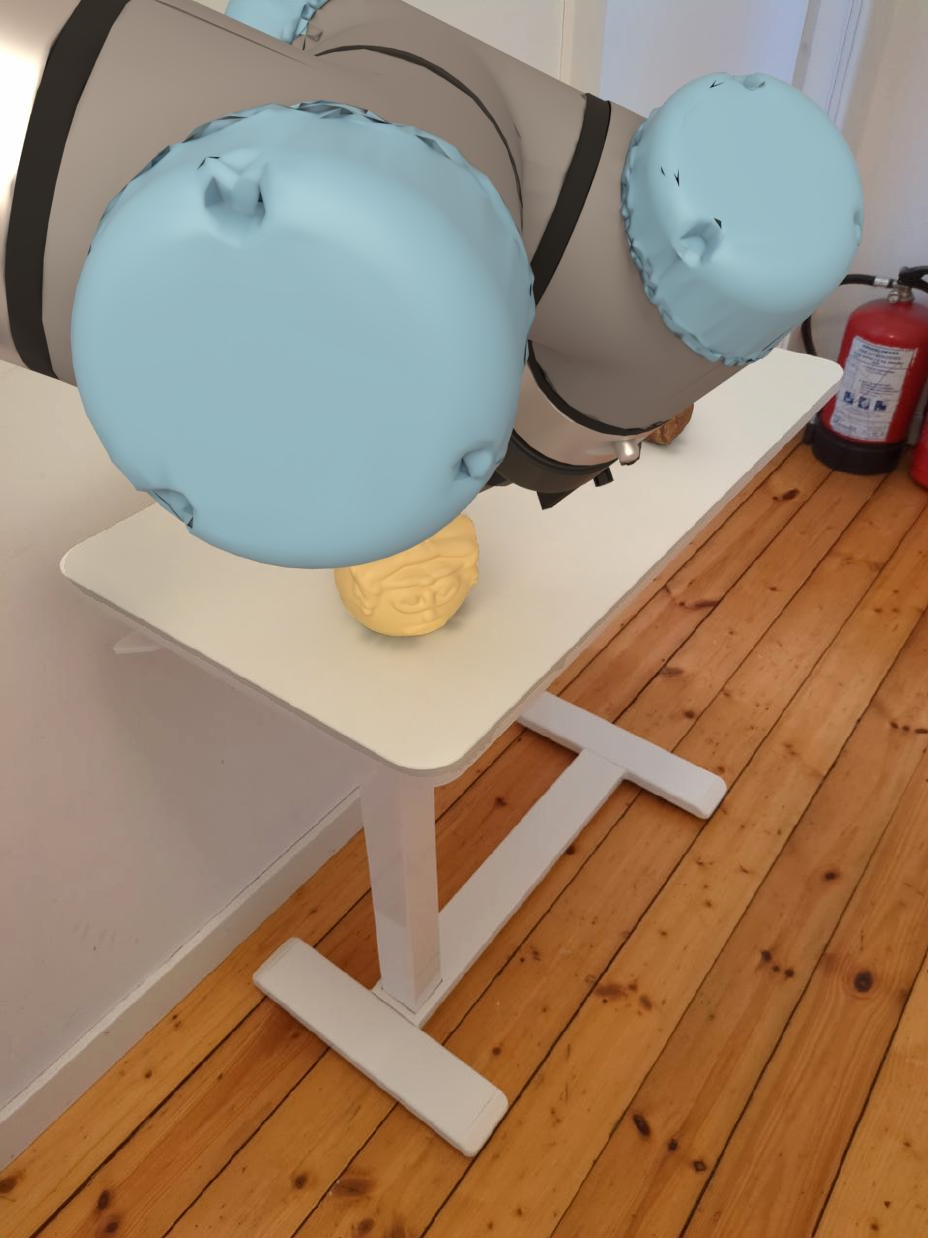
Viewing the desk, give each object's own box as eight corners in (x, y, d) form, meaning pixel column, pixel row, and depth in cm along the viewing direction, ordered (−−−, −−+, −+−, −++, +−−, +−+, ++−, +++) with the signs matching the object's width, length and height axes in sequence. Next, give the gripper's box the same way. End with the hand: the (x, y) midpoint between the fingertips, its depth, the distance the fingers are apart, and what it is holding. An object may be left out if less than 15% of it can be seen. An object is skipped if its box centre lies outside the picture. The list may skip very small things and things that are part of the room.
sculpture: (367, 673, 72) (354, 563, 65) (323, 591, 80) (307, 486, 73) (496, 633, 75) (496, 524, 68) (440, 558, 84) (435, 456, 77)
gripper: (325, 539, 36) (285, 618, 56) (822, 410, 43) (628, 521, 63) (270, 364, 36) (251, 505, 56) (771, 266, 44) (595, 422, 64)
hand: (450, 514), depth 60 cm, fingers open, 13 cm apart
